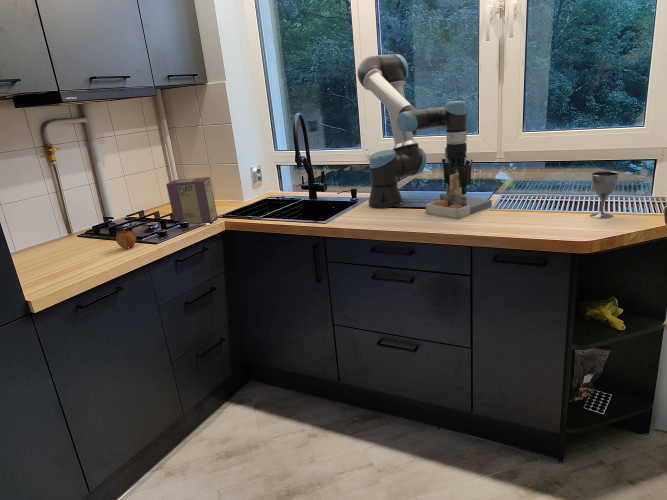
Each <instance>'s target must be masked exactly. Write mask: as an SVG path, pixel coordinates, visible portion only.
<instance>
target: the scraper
mask: <svg viewBox="0 0 667 500" xmlns="http://www.w3.org/2000/svg"><path fill="white" fill-rule="evenodd" d="M460 186H461V184H460V178H459V173H455V174H452V175H450V195H449V194H446V193H441V194H439V200H445V201H448V205H450V206H451V205H452V204H457V205H463V207H465V206H467V197H468V196H465V197H464V196H459V187H460Z"/></svg>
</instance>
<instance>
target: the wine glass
mask: <svg viewBox="0 0 667 500" xmlns="http://www.w3.org/2000/svg"><path fill="white" fill-rule="evenodd" d="M619 175H620V174H619V172H617V171H613V170H608V171H607V170H602V171H601V170H599V171H593V172H591V186H592V187H591V188H592V190H593V192H594V193H595V194H596V195H597V196H598V198H599V199H600V211H599V212H595V213H591V214H590V215H589V216H590V217H591V218H593V219H594V218H595V219H601V220H602V219H611V218H613V217H614V214H612V213H608V212H606V213H605V212H604V208H605V207H604V206H605V202H606V200H607V198H608V197H609V196H610V195H611V194H612V193H613V192H614V191H615V190H616V188H617V185H618V181H619Z"/></svg>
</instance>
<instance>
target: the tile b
mask: <svg viewBox="0 0 667 500" xmlns="http://www.w3.org/2000/svg"><path fill="white" fill-rule="evenodd" d="M462 207H463V205H457V204H452V205H451V206H449V207H447V208H453V209H459V208H462Z"/></svg>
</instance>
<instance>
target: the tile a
mask: <svg viewBox="0 0 667 500" xmlns="http://www.w3.org/2000/svg"><path fill="white" fill-rule="evenodd" d="M434 202H435V206H441V207H448V201H445V200H440V199H437V200H435V201H434Z"/></svg>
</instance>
